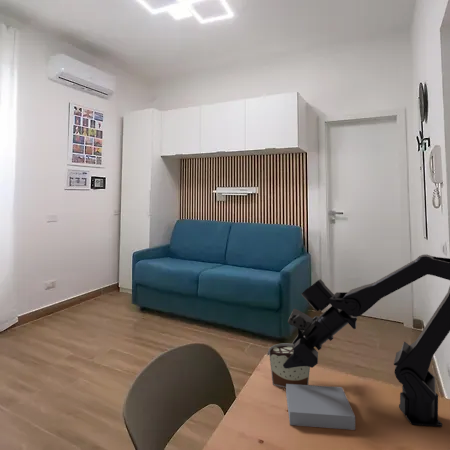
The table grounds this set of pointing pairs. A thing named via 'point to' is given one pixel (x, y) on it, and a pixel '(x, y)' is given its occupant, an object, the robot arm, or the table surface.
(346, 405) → the base block
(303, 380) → the food container
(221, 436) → the table surface
